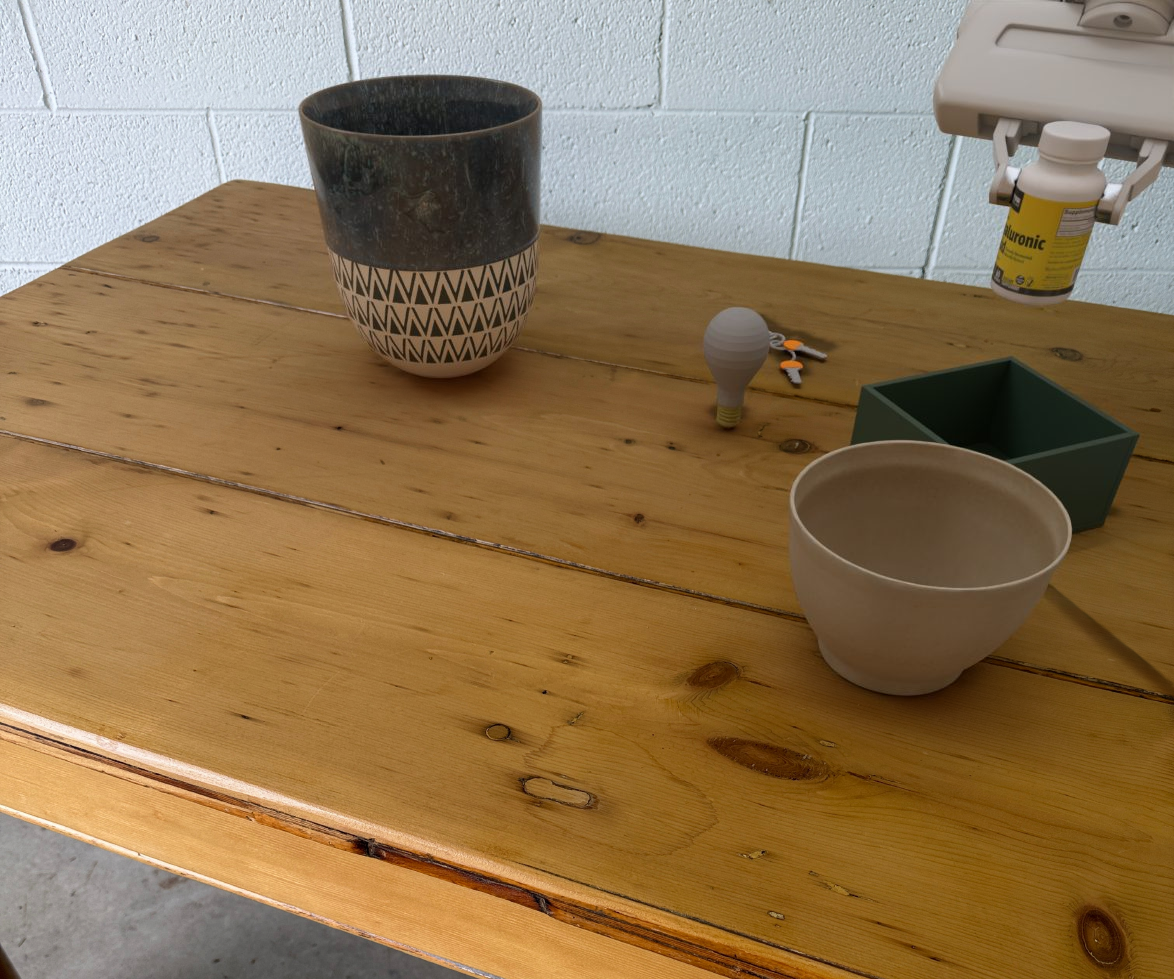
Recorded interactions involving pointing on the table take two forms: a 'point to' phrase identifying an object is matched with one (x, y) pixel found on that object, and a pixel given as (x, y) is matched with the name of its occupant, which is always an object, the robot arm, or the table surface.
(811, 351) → the key chain
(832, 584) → the planter bowl
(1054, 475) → the bin
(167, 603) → the table surface
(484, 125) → the planter
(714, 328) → the light bulb
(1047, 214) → the supplement bottle
